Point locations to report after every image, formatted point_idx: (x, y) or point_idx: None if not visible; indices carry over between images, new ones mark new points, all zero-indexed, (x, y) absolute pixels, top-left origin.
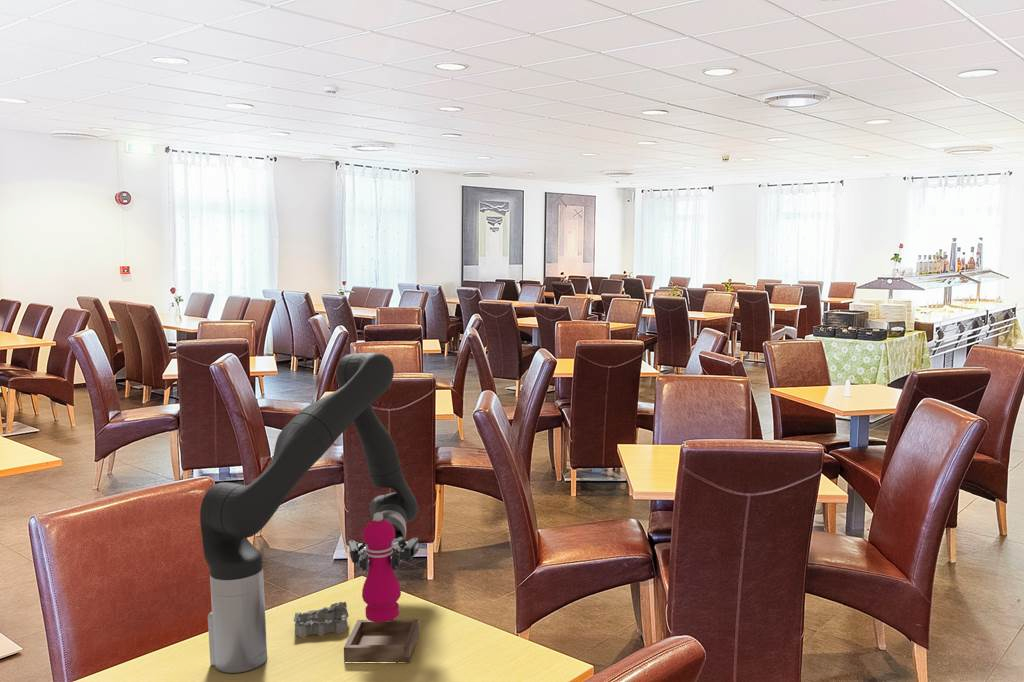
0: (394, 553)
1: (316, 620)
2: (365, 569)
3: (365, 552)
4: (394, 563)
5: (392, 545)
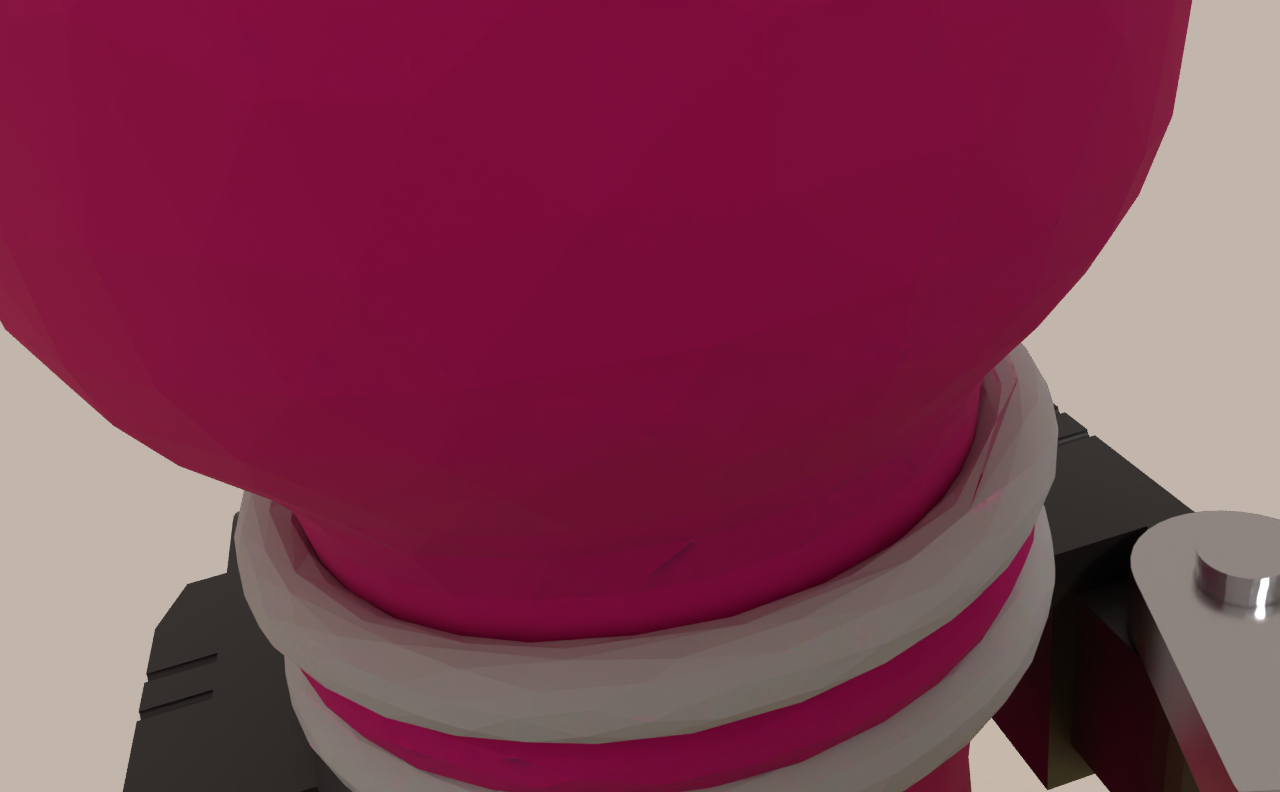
0: (259, 649)
1: None
2: None
3: (1089, 518)
4: None
5: (243, 533)
